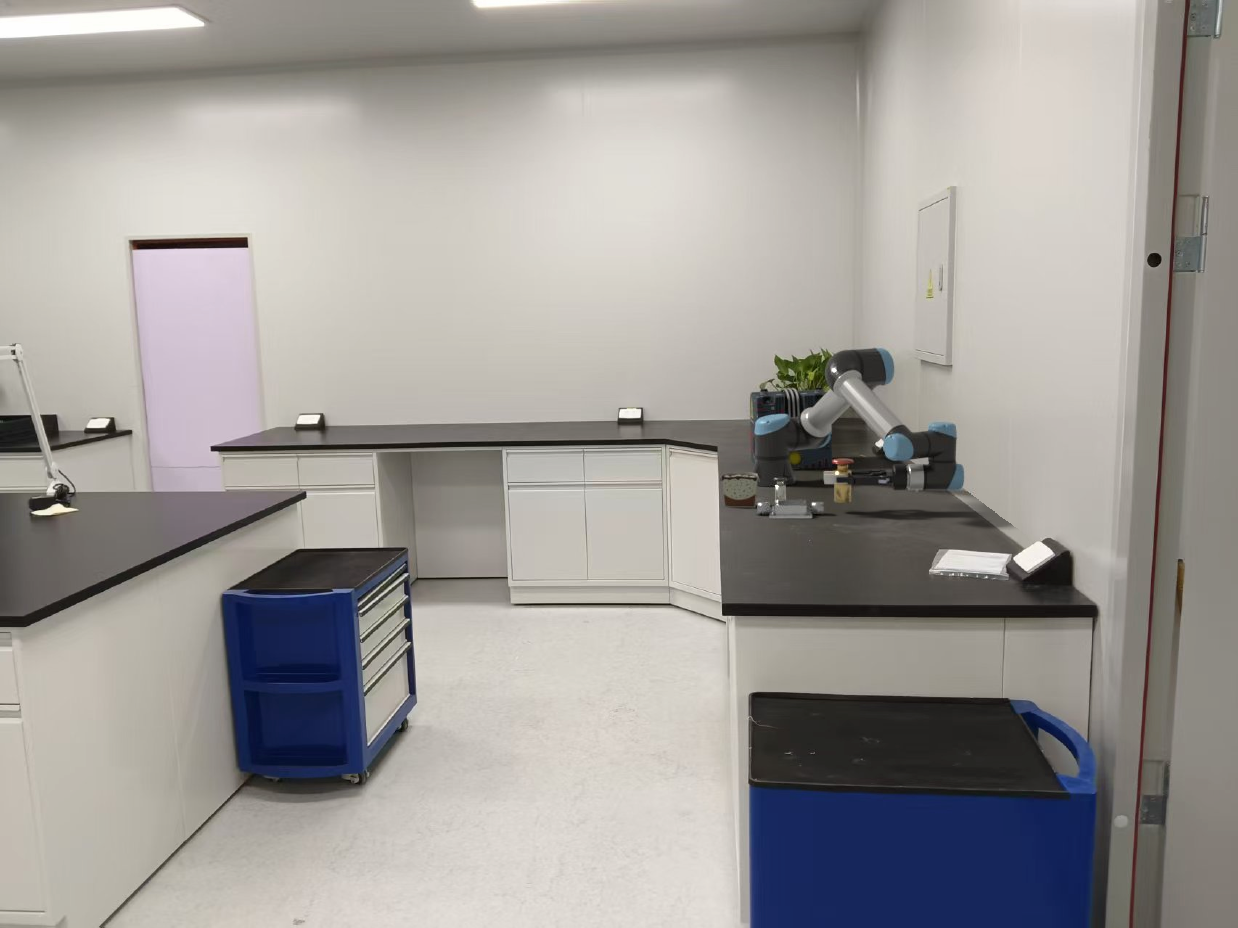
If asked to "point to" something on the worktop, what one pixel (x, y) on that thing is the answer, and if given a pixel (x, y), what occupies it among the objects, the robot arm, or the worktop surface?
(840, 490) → the brass valve
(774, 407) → the power unit
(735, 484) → the food container
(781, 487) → the clear glass cylinder
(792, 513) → the flange socket
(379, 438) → the worktop surface
